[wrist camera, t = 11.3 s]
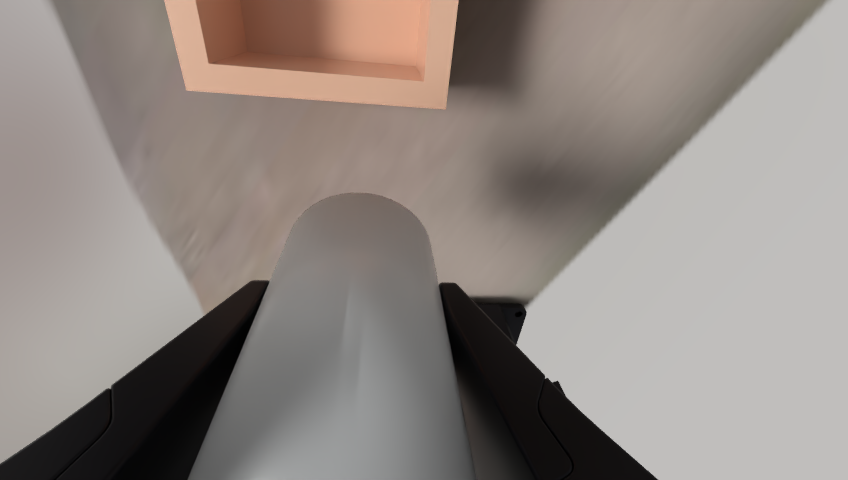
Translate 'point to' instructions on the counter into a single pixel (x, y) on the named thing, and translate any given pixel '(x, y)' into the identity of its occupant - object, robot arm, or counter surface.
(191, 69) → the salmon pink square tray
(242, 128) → the counter surface
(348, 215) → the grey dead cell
